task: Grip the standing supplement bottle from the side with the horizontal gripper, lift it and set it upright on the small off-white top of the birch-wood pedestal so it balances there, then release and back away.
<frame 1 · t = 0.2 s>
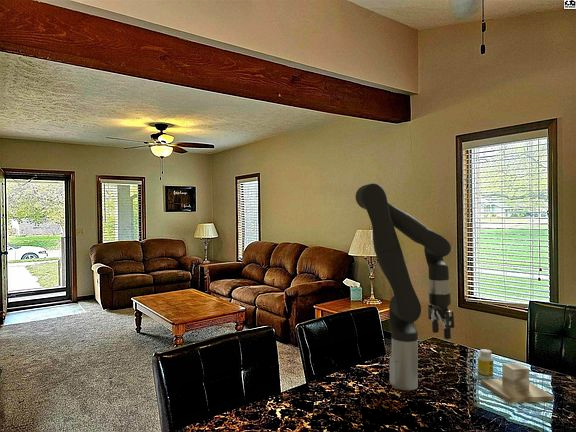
hand: (441, 335, 153), 18 cm above the table, tool pointing down, fingers open, 8 cm apart
pedestal: (515, 391, 147), on the table
supplement bottle: (485, 376, 162), on the table
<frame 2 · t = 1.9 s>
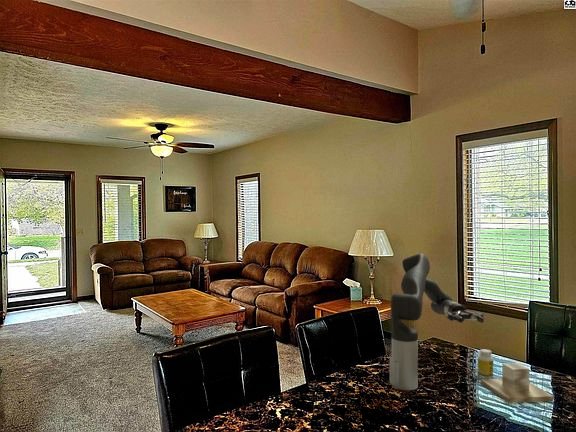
hand: (472, 320, 173), 19 cm above the table, tool horizontal, fingers open, 8 cm apart
nothing on the table moved.
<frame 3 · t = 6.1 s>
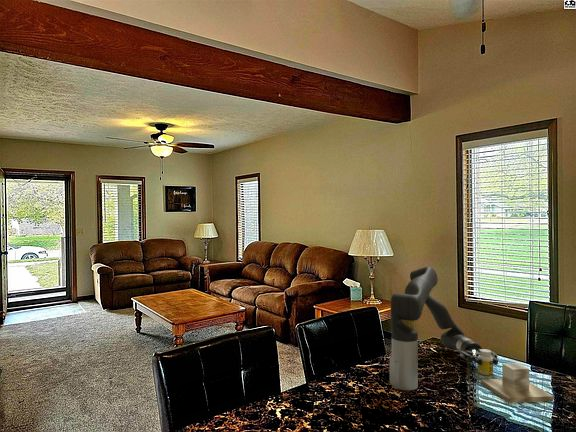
hand: (488, 362, 159), 6 cm above the table, tool horizontal, fingers closed on supplement bottle, 5 cm apart
supplement bottle: (485, 376, 162), on the table, touching gripper
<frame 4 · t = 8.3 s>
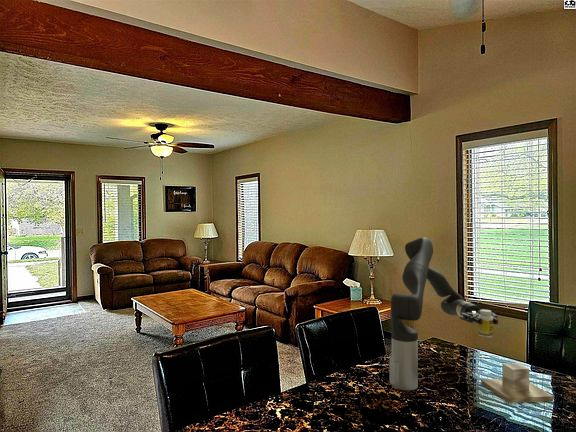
hand: (488, 321, 159), 22 cm above the table, tool horizontal, fingers closed on supplement bottle, 5 cm apart
supplement bottle: (485, 336, 162), point 15 cm above the table, touching gripper
when the fingers open (16 cm above the table, at t = 10.8 s): supplement bottle drops 1 cm, resting on pedestal.
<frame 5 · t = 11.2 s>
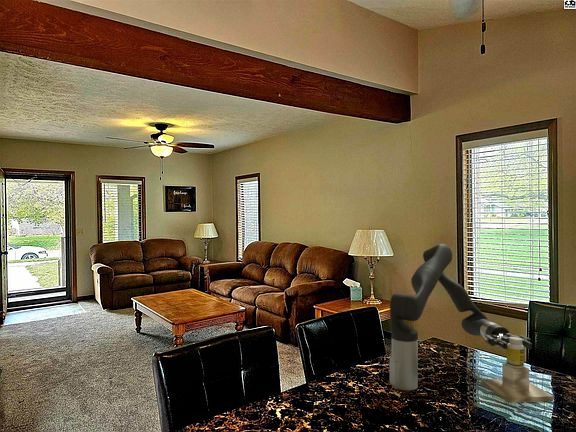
hand: (518, 346, 145), 17 cm above the table, tool horizontal, fingers open, 8 cm apart
supplement bottle: (515, 366, 147), point 9 cm above the table, touching pedestal
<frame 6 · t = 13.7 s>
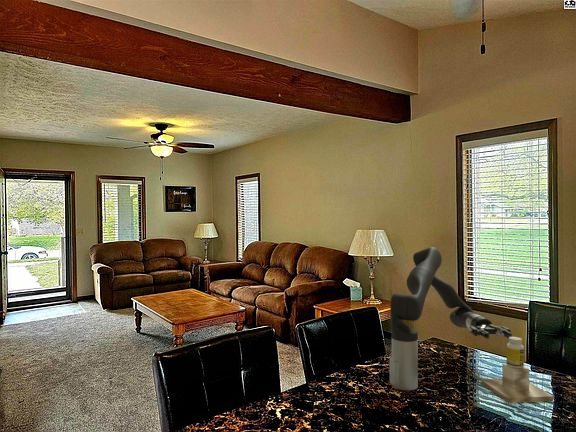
hand: (499, 336, 158), 17 cm above the table, tool horizontal, fingers open, 8 cm apart
nothing on the table moved.
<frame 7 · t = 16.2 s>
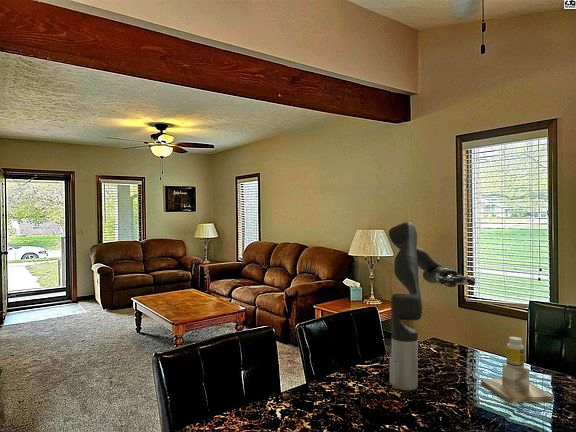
hand: (463, 282, 168), 35 cm above the table, tool horizontal, fingers open, 8 cm apart
nothing on the table moved.
at the end: supplement bottle 0.1 cm off-centre on the pedestal, point 8.8 cm above the pedestal's base; supplement bottle tilted 0°; the gripper is holding nothing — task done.
